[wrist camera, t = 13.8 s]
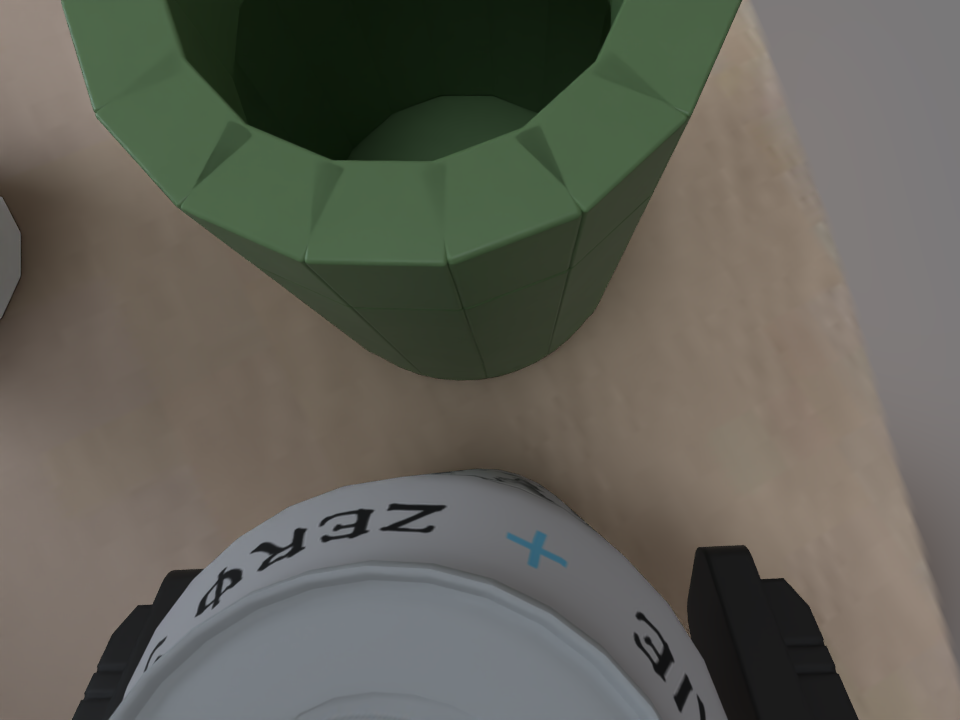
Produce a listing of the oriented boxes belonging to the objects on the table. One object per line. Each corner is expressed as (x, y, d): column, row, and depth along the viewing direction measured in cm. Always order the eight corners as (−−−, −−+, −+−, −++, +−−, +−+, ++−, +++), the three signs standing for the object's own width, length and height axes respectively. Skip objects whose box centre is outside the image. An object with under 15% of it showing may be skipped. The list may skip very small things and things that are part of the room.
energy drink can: (619, 509, 20) (930, 648, 5) (553, 721, 19) (677, 1660, 4) (421, 440, 20) (153, 374, 5) (349, 642, 19) (-190, 1209, 5)
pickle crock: (256, 228, 22) (-66, -62, 10) (472, 36, 22) (418, -459, 10) (455, 445, 20) (365, 417, 8) (679, 235, 21) (894, -72, 9)
